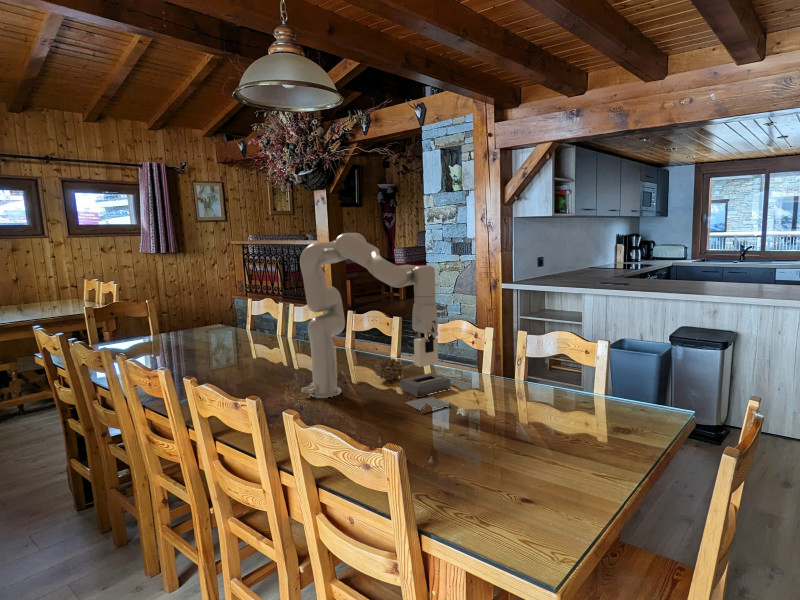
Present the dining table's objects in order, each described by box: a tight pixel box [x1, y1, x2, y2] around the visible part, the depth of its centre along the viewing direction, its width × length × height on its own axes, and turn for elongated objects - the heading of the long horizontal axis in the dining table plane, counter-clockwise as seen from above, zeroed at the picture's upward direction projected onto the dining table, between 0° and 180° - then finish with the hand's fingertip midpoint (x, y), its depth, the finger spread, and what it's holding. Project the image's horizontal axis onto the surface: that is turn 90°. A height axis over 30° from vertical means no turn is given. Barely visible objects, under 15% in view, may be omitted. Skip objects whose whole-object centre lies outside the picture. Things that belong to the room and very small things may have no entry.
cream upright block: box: [413, 336, 439, 368], centre depth 180 cm, size 8×4×10 cm, turn 123°
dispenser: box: [399, 372, 451, 397], centre depth 200 cm, size 16×12×5 cm
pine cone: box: [374, 357, 417, 381], centre depth 217 cm, size 22×10×10 cm, turn 129°
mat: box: [404, 395, 451, 412], centre depth 183 cm, size 12×12×1 cm
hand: (426, 350), depth 180 cm, fingers closed on cream upright block, 3 cm apart
